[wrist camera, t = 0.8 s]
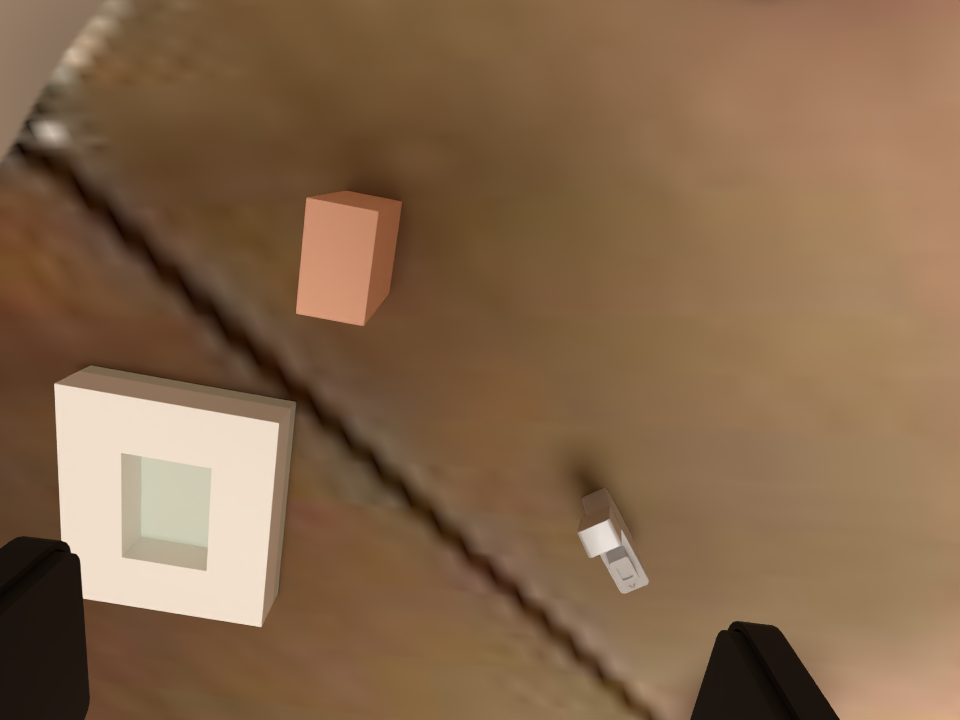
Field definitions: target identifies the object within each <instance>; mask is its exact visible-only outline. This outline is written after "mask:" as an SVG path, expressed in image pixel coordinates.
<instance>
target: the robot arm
mask: <svg viewBox="0 0 960 720" xmlns="http://www.w3.org/2000/svg"><path fill="white" fill-rule="evenodd" d="M89 700H90V695H89V681H88V666H87V651H86V637H85V622H84V607H83V593H82V578H81V563H80V558H79V557H78V555H77V554H74V553H71V550H70V546H69V545H68V544H67V543H66V542H64V541H59V540H50V539H42V538H34V537H25V536H22V537H17V538H15V539H13V540H12V541H10V542H9V543H7V544H6V545H5V546H3V547H2V548H1V549H0V720H84V719H85V716H86V714H87V711H88V707H89ZM690 720H840V719H839V718H838V716H837V715H836V713H835V712H834V710H833V709H832V707H831V706H830V704H829V703H828V701H827V700H826V698H825V697H824V695H823V694H822V692H821V691H820V689H819V688H818V686H817V685H816V683H815V682H814V680H813V679H812V677H811V676H810V674H809V673H808V671H807V670H806V668H805V667H804V665H803V664H802V662H801V661H800V659H799V658H798V656H797V655H796V653H795V652H794V650H793V649H792V647H791V646H790V644H789V643H788V641H787V640H786V638H785V637H784V635H783V634H782V632H781V631H780V630H779V629H778V628H777V627H775V626H773V625H765V624H757V623H749V622H740V621H736V622H733V623H732V624H731V625H730V626H729V628H728V630H721V631H720V632H719V633H718V636H717V638H716V641H715V644H714V647H713V650H712V653H711V657H710V660H709V663H708V666H707V669H706V672H705V675H704V678H703V682H702V685H701V688H700V691H699V694H698V697H697V700H696V704H695V707H694V710H693V713H692V716H691V719H690Z"/></svg>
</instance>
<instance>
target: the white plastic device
mask: <svg viewBox="0 0 960 720" xmlns="http://www.w3.org/2000/svg"><path fill="white" fill-rule="evenodd" d="M582 504H583V507H584V511H585V515H586V516H585V517H583V518H581V521H580V524H579V528H578V531H577V533H578V535H579V538H580V540H581V542H582V544H583V546H584V548H585V550H586V552H587V554H588V557H589V558H592V557H595V556H597V555H600V556H601V558H602V559H603V561H604V563H605V565H606V567H607V568H608V570H609V572H610V574H611V576H612V577H613V579H614V581H615V583H616V585H617V586H618V588H619V590H620V592H621V593H624V594H625V593H628V592H630V591H633V590H635V589H638V588H640V587H642V586H645V585H647V584H648V582H649V579H648V577H647V574H646V572H645V569H644V566H643V564H642V561H641V559H640V556H639V553H638V551H637V548H636V545H635V543H634V540H633V538H632V535H631V533H630V531H629V530H628V528H627V526H626V524H625V522H624V520H623V518H622V516H621V514H620V513H619V511H618V509H617V507H616V505H615V503H614V501H613V499H612V497H611V495H610V494H609V492H608V490H607V489H605V488H602V489H600V490H598V491H596V492H593V493H591V494H589V495H587V496H584V497H583V498H582Z"/></svg>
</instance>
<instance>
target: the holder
mask: <svg viewBox="0 0 960 720" xmlns="http://www.w3.org/2000/svg"><path fill="white" fill-rule="evenodd" d="M54 386H55V408H56V430H57V452H58V474H59V496H60V518H61V540H62V541H64V542H66V543H67V544H68V545H69V546H70V550H71V553H74V554H77V555H78V557H79V558H80V563H81V578H82V593H83V598H84V599H90V600H96V601H103V602H109V603H115V604H121V605H127V606H134V607H140V608H146V609H152V610H159V611H165V612H171V613H177V614H183V615H190V616H196V617H202V618H208V619H215V620H221V621H227V622H233V623H239V624H246V625H252V626H258V627H262V625H263V623H264V621H265V619H266V617H267V615H268V612H269V610H270V608H271V606H272V604H273V602H274V600H275V598H276V596H277V594H278V588H279V577H280V567H281V556H282V546H283V536H284V525H285V515H286V504H287V494H288V484H289V473H290V463H291V452H292V442H293V432H294V421H295V411H296V402H294V401H288V400H283V399H277V398H271V397H266V396H260V395H255V394H249V393H243V392H238V391H232V390H226V389H221V388H215V387H210V386H204V385H198V384H193V383H187V382H182V381H176V380H170V379H165V378H159V377H153V376H148V375H142V374H137V373H131V372H125V371H120V370H114V369H109V368H103V367H97V366H92V365H90V366H88V367H86V368H84V369H82V370H80V371H78V372H76V373H74V374H72V375H70V376H68V377H66V378H64V379H63V380H61V381H59V382H57V383H55V384H54Z"/></svg>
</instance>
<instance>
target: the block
mask: <svg viewBox="0 0 960 720" xmlns="http://www.w3.org/2000/svg"><path fill="white" fill-rule="evenodd" d="M401 207H402V201H397V200H392V199H387V198H382V197H377V196H372V195H367V194H361V193H356V192H351V191H340V192H335V193H329V194H324V195H318V196H313V197H307V199H306V210H305V220H304V231H303V242H302V253H301V264H300V275H299V286H298V297H297V308H296V314H301V315H307V316H312V317H318V318H323V319H328V320H334V321H339V322H345V323H350V324H355V325H361V326H364V325H365V324H366V322H367V321H368V320H369V319H370V317H371V316H372V315H373V313H374V312H375V311H376V310H377V308H378V307H379V306H380V304H381V303H382V302H383V301H384V299H385V298H386V297H387V295H388V294H389V292H390V285H391V278H392V271H393V264H394V256H395V249H396V242H397V235H398V228H399V221H400V214H401Z"/></svg>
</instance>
